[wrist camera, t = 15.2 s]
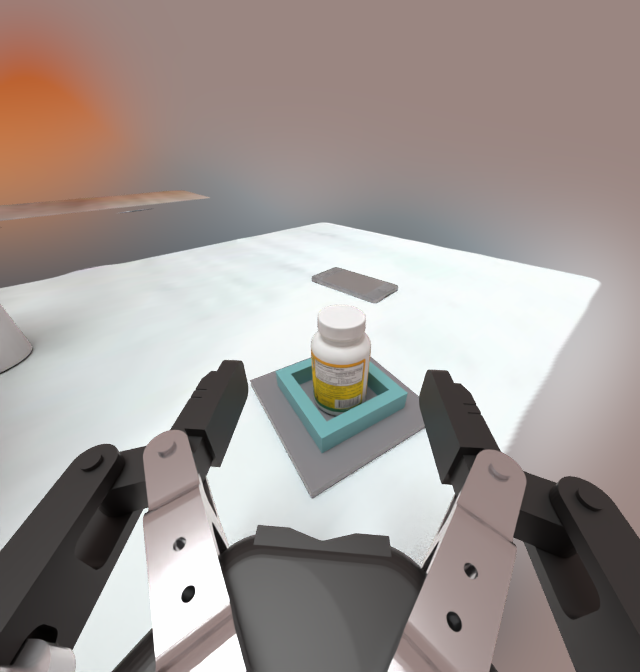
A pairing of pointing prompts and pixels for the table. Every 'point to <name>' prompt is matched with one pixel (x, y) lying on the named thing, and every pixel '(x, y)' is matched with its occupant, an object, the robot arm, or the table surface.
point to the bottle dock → (336, 422)
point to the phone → (355, 284)
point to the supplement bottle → (340, 359)
